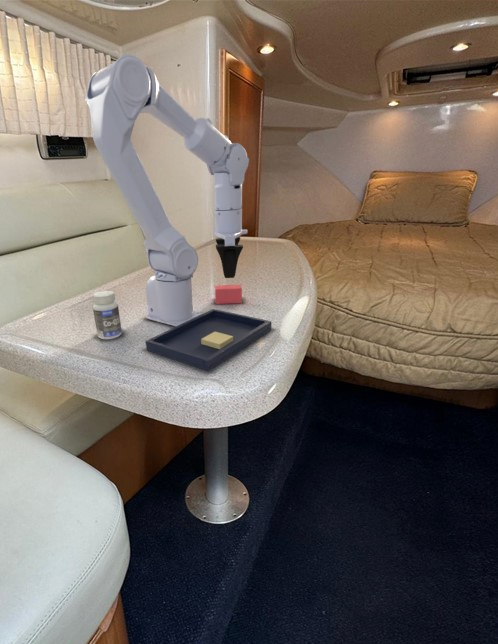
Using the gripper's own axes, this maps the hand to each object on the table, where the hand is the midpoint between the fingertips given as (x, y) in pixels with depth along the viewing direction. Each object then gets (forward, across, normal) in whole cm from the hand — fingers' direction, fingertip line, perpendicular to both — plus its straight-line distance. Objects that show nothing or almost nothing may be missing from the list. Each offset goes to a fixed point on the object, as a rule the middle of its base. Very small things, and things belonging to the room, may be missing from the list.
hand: (228, 273), depth 82 cm
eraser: (+7, 0, 0) cm, 7 cm away
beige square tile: (+6, -24, +3) cm, 25 cm away
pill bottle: (+7, -18, +24) cm, 31 cm away
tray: (+7, -22, +4) cm, 23 cm away
